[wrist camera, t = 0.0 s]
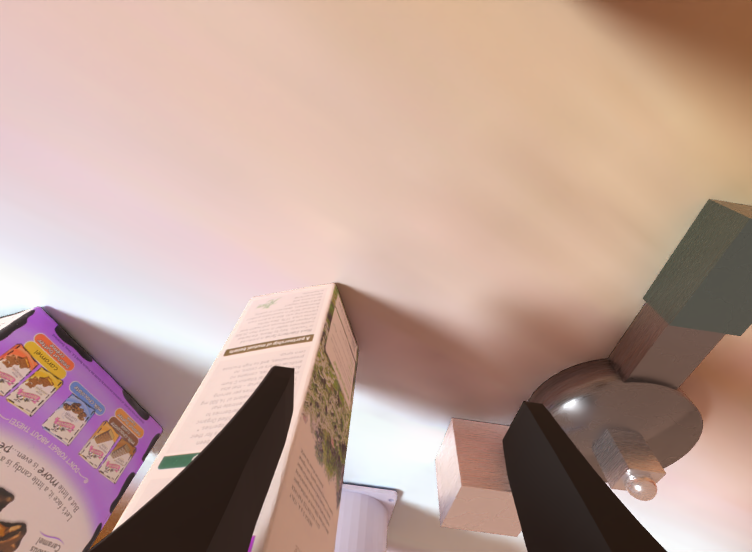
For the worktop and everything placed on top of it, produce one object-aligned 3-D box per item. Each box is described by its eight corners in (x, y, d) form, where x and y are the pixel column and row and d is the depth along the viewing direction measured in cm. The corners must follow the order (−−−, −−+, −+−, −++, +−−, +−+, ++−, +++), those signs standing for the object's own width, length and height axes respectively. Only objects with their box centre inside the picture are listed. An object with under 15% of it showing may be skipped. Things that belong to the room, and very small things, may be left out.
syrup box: (248, 294, 22) (55, 600, 10) (339, 278, 21) (253, 596, 9) (282, 360, 25) (166, 661, 13) (364, 349, 24) (326, 664, 12)
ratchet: (629, 458, 28) (680, 548, 23) (505, 440, 28) (529, 528, 23) (845, 220, 17) (1032, 290, 12) (647, 189, 17) (753, 246, 12)
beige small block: (500, 468, 30) (516, 536, 26) (435, 459, 30) (440, 526, 26) (524, 428, 27) (547, 497, 23) (451, 417, 27) (461, 485, 23)
